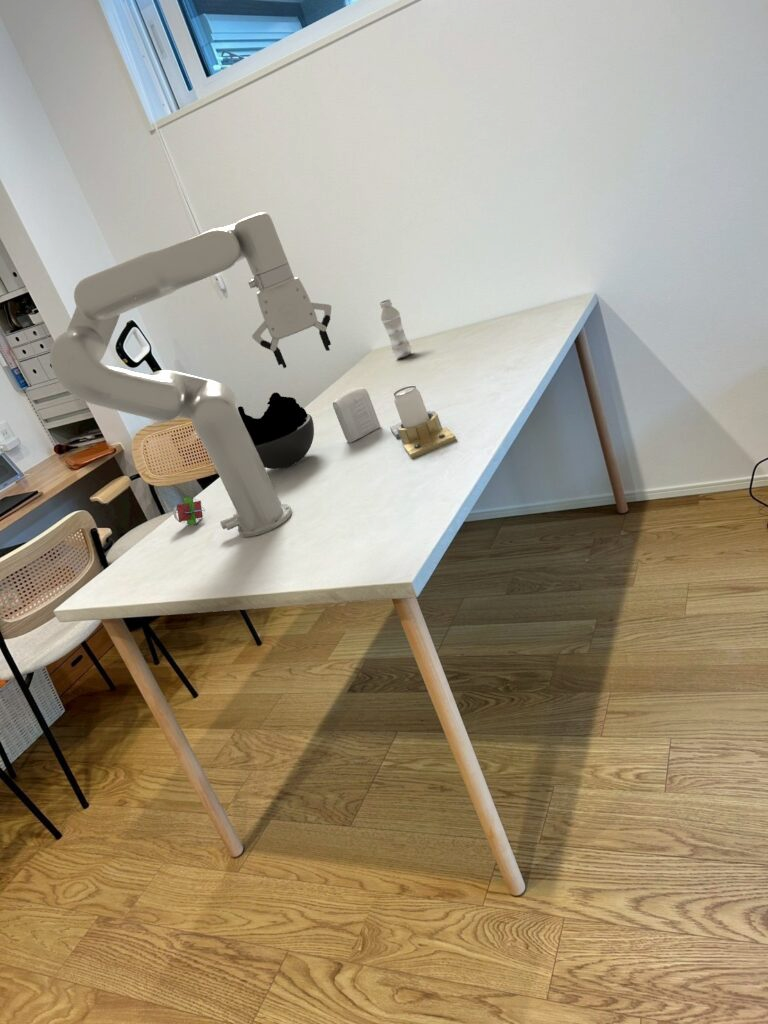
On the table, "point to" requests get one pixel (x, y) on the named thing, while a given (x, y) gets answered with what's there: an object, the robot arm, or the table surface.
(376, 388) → the table surface
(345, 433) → the white engraved tombstone
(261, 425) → the coal bowl
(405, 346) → the plastic bottle
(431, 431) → the brass ring mounting bracket
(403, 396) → the can
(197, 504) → the geometric puzzle
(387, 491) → the table surface
